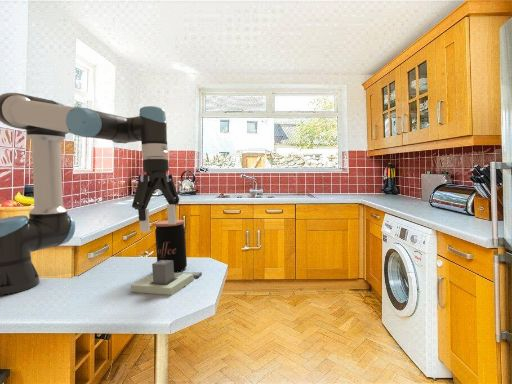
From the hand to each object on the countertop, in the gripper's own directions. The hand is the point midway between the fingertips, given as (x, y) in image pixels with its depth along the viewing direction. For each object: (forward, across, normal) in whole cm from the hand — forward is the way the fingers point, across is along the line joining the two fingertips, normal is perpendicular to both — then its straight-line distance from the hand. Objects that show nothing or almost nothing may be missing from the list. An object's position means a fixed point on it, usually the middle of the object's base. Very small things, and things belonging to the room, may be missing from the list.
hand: (159, 227), depth 91 cm
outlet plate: (+19, +1, +1) cm, 19 cm away
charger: (+19, 0, 0) cm, 19 cm away
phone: (+19, +11, -3) cm, 22 cm away
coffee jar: (+19, +17, +8) cm, 26 cm away
